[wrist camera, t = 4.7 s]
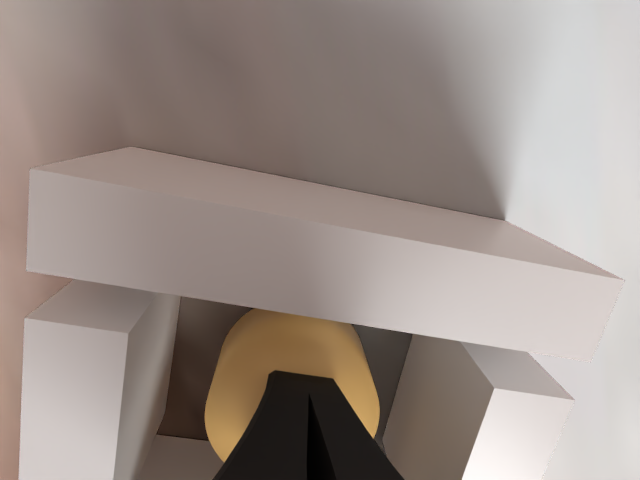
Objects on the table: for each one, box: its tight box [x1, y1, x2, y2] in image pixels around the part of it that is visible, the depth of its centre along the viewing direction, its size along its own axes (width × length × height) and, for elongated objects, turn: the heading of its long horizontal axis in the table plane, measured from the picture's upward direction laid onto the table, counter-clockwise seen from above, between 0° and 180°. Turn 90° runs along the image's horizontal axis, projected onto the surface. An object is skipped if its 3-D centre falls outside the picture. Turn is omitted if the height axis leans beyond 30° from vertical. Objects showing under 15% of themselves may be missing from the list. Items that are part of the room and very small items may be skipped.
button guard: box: [19, 146, 625, 480], centre depth 10 cm, size 9×9×4 cm
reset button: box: [205, 308, 380, 463], centre depth 10 cm, size 4×4×2 cm
